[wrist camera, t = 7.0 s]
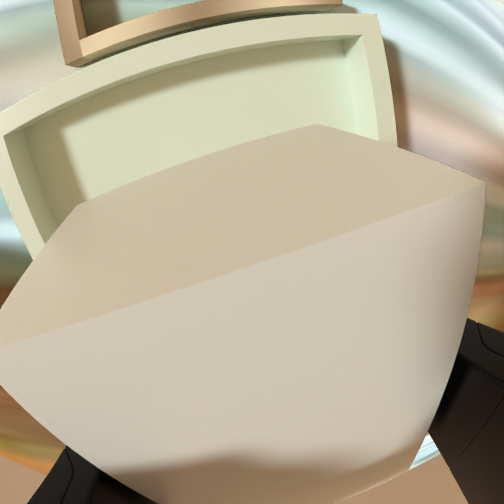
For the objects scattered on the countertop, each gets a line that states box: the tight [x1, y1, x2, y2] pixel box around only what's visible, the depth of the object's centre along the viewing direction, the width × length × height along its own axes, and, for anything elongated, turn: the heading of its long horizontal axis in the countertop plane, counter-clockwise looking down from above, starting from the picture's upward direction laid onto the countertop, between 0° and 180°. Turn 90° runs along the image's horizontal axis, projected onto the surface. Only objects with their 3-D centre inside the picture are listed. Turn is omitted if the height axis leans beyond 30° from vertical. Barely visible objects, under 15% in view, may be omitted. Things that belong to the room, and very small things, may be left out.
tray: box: [0, 13, 398, 260], centre depth 14 cm, size 17×17×2 cm
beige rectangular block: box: [0, 124, 486, 504], centre depth 7 cm, size 6×9×5 cm, turn 15°
